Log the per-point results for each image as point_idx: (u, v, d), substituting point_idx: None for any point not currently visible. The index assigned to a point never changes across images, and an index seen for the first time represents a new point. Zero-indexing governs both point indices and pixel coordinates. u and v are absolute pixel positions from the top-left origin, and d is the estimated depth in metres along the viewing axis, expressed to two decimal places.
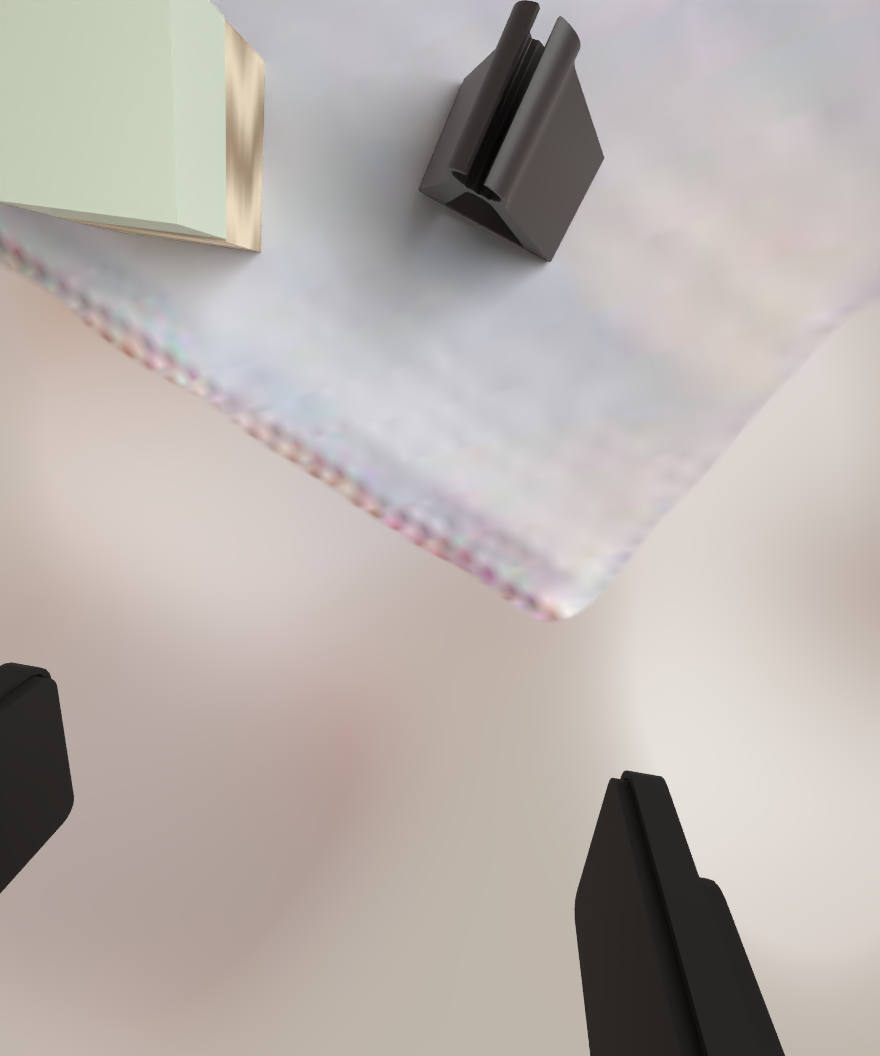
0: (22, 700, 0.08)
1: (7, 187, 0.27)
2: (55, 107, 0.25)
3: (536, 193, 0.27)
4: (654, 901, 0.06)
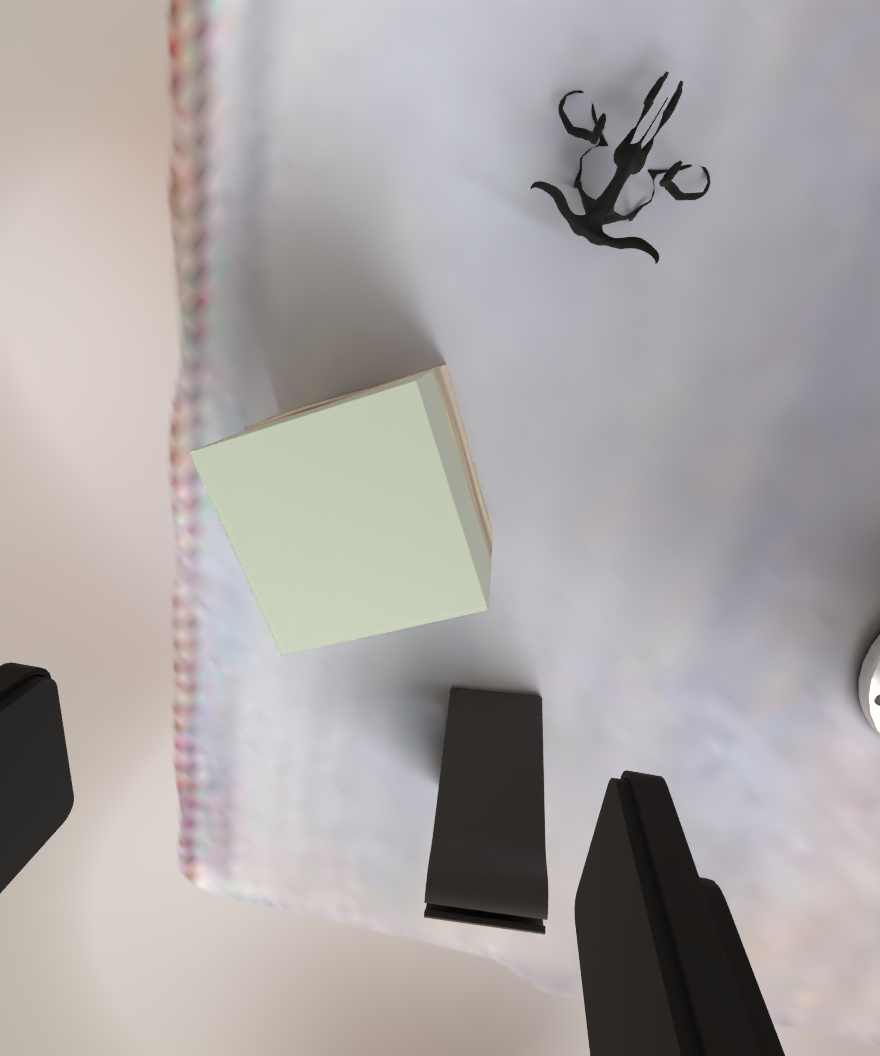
0: (22, 700, 0.08)
1: (215, 481, 0.23)
2: (317, 523, 0.23)
3: None
4: (654, 901, 0.06)
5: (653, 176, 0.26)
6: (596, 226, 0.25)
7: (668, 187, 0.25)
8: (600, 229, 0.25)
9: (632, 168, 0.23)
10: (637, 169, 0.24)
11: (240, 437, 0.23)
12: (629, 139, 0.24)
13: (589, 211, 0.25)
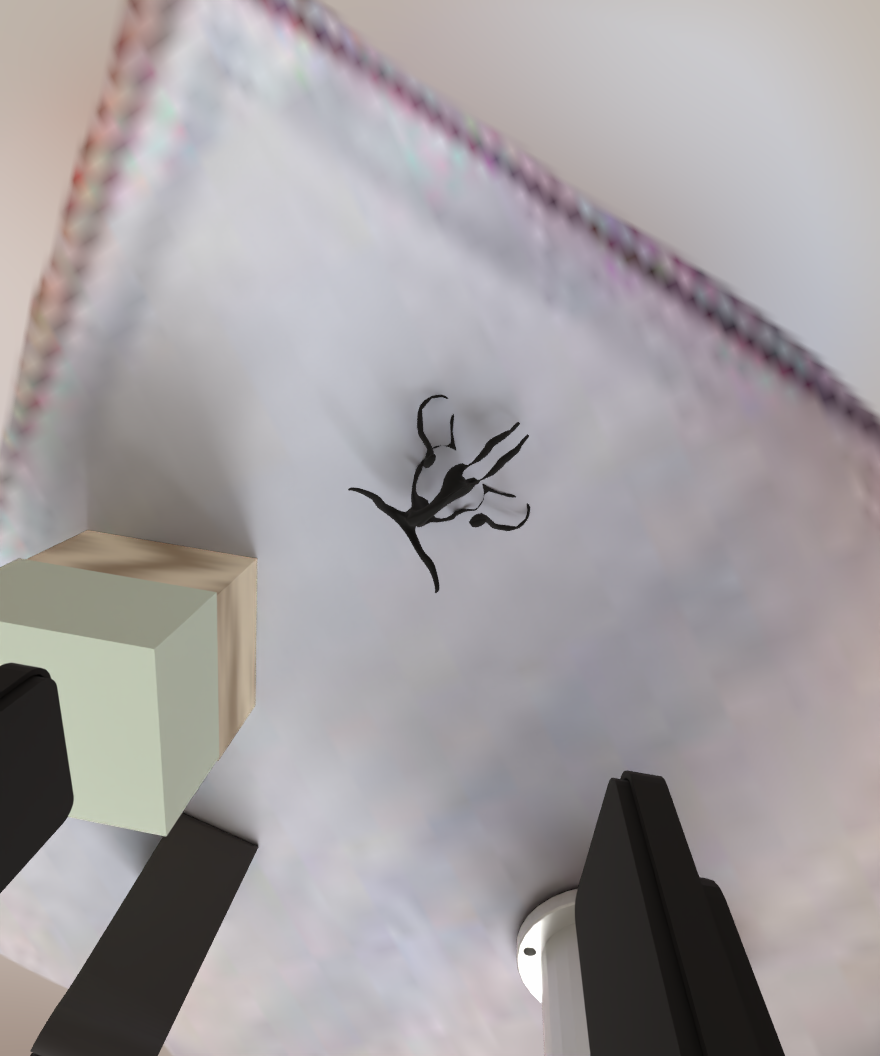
0: (22, 700, 0.08)
1: None
2: None
3: None
4: (654, 901, 0.06)
5: (485, 491, 0.28)
6: (409, 526, 0.26)
7: None
8: (412, 529, 0.27)
9: (449, 501, 0.25)
10: (459, 497, 0.26)
11: None
12: (462, 469, 0.26)
13: None
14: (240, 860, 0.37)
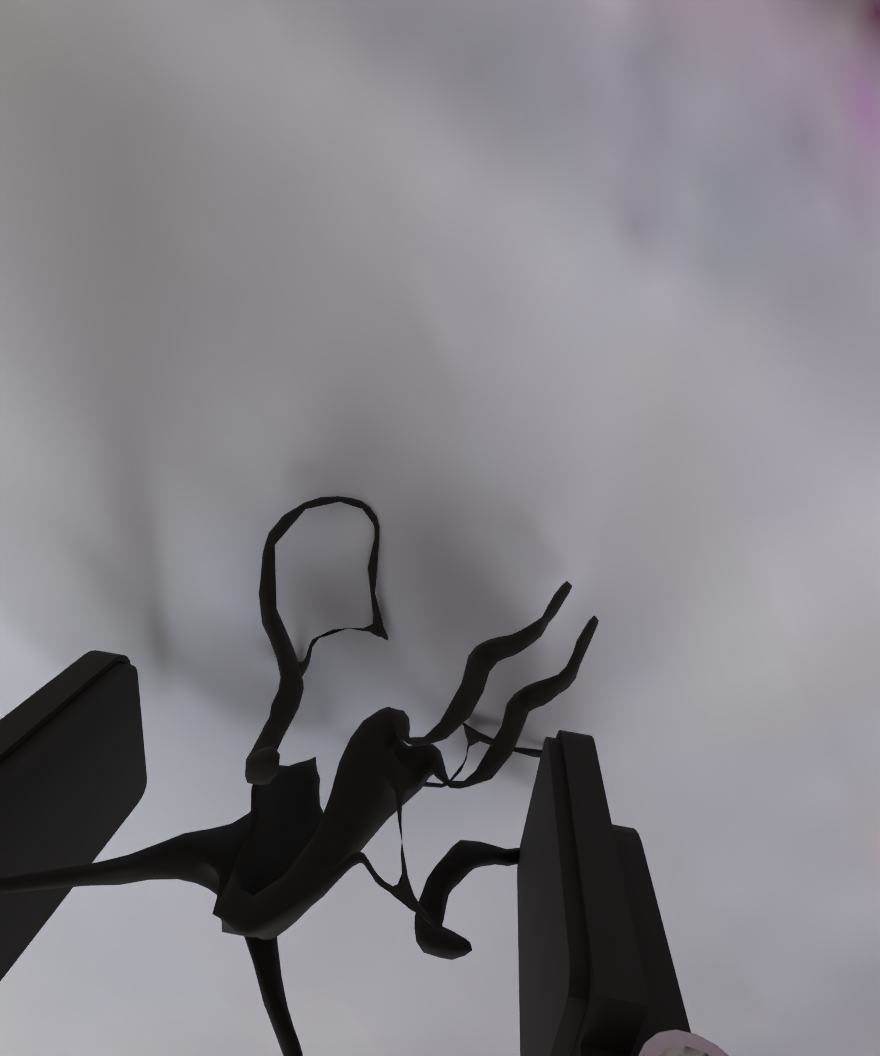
0: (110, 685, 0.09)
1: None
2: None
3: None
4: (567, 838, 0.07)
5: (470, 741, 0.10)
6: None
7: None
8: None
9: None
10: (386, 819, 0.08)
11: None
12: (397, 733, 0.08)
13: None
14: None
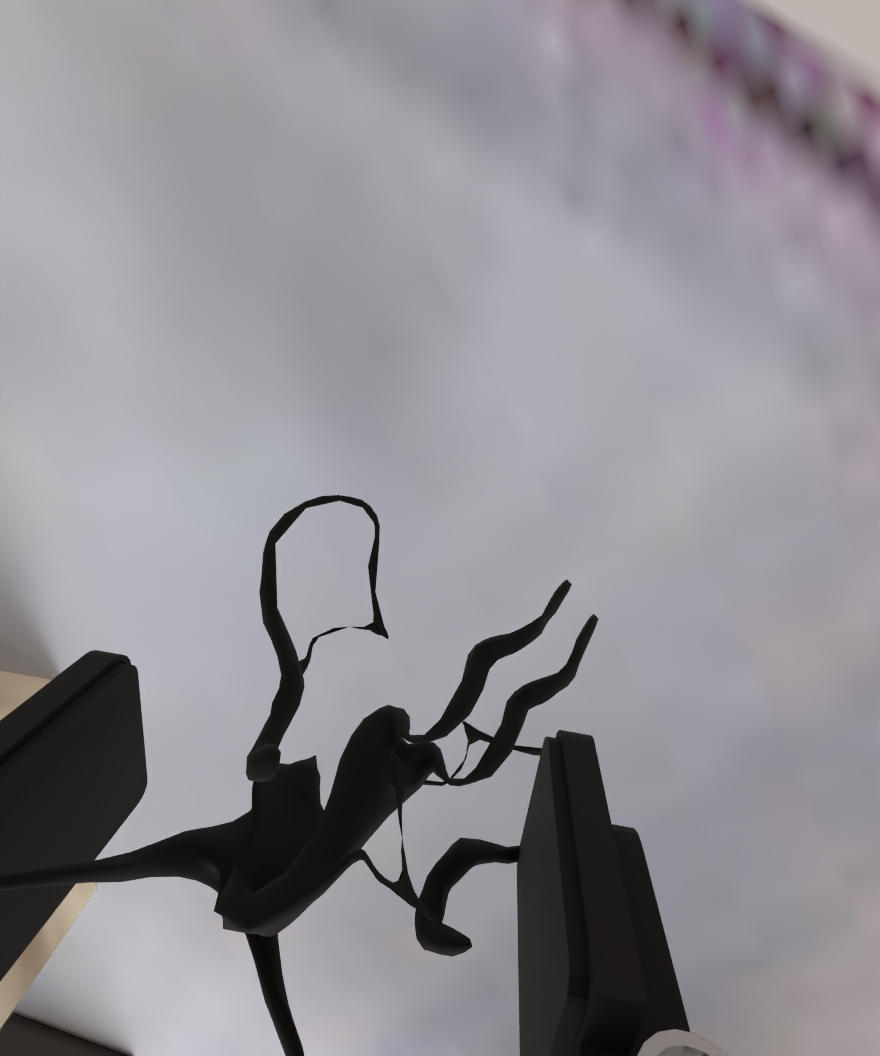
0: (111, 684, 0.09)
1: None
2: None
3: None
4: (566, 837, 0.07)
5: (470, 740, 0.10)
6: None
7: None
8: None
9: None
10: None
11: None
12: (397, 731, 0.08)
13: None
14: None
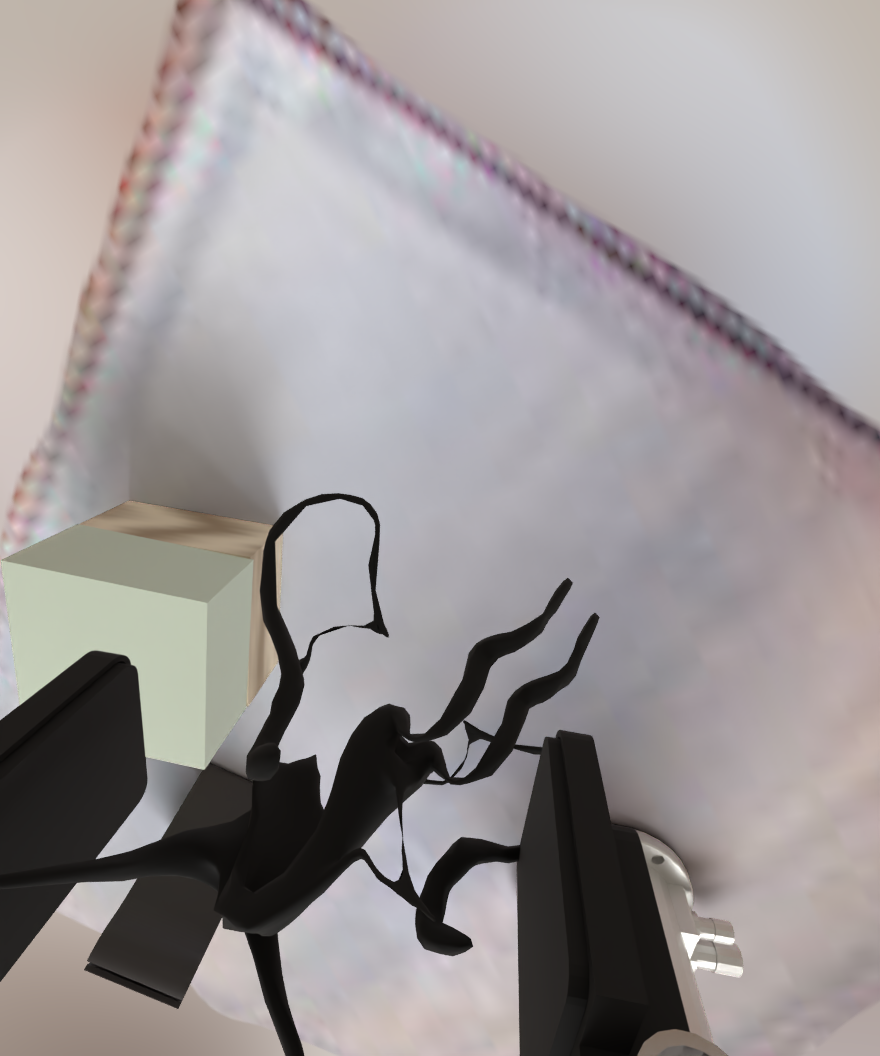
0: (111, 685, 0.09)
1: (16, 589, 0.26)
2: None
3: None
4: (566, 837, 0.07)
5: (470, 739, 0.10)
6: None
7: None
8: None
9: None
10: (387, 816, 0.08)
11: (49, 571, 0.26)
12: (398, 730, 0.08)
13: None
14: None
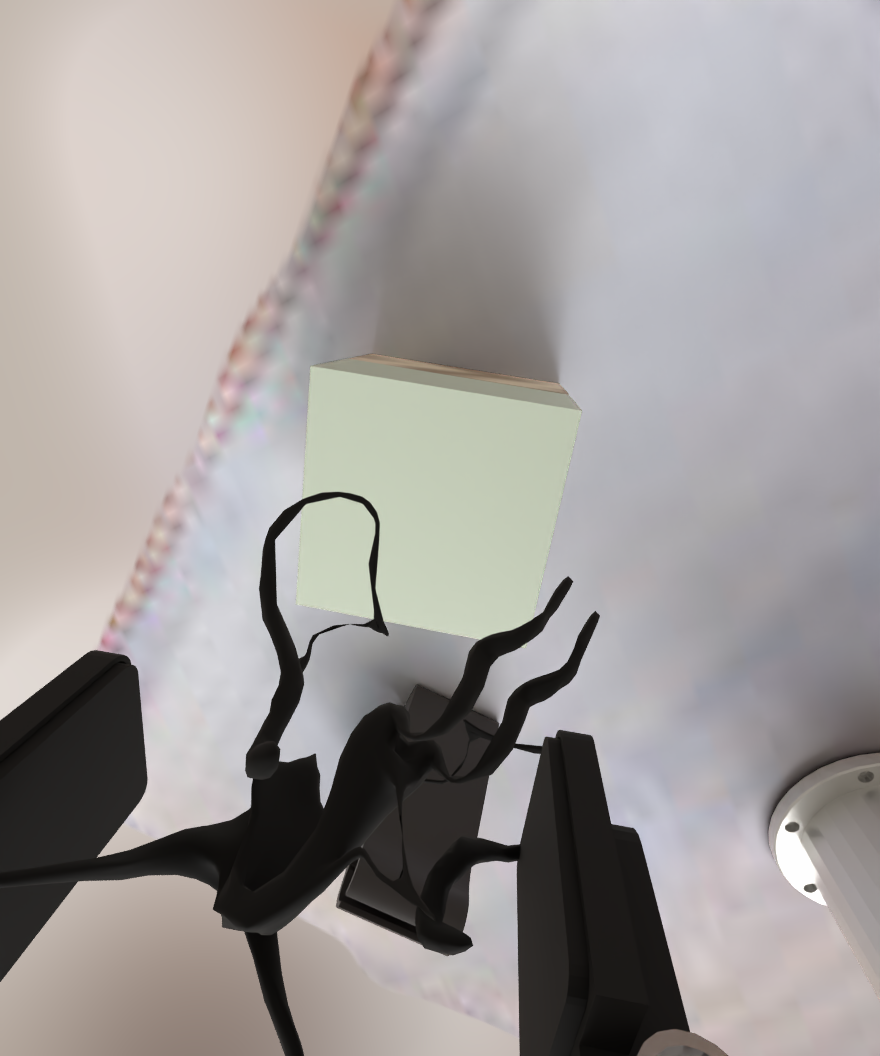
0: (111, 685, 0.09)
1: (323, 407, 0.21)
2: (406, 496, 0.22)
3: None
4: (566, 837, 0.07)
5: (471, 738, 0.10)
6: None
7: None
8: None
9: None
10: (387, 815, 0.08)
11: (374, 377, 0.20)
12: (398, 729, 0.08)
13: None
14: None
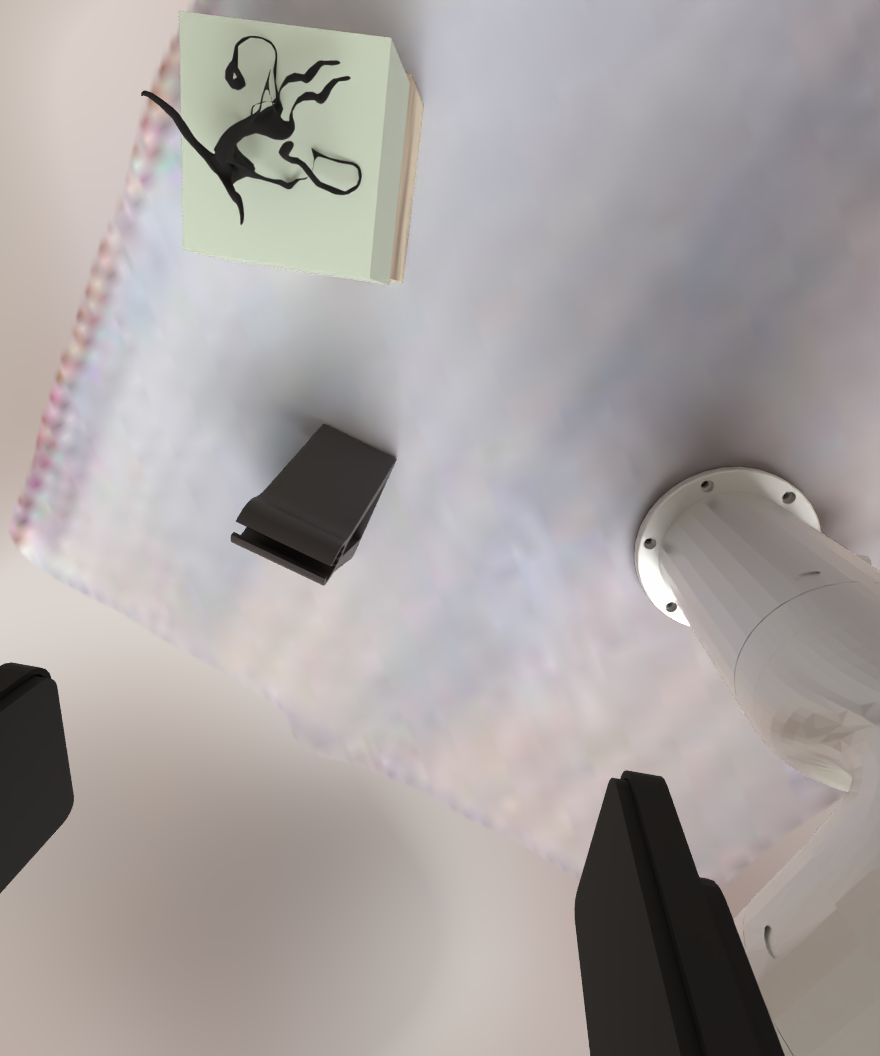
0: (22, 700, 0.08)
1: (191, 50, 0.26)
2: None
3: None
4: (654, 901, 0.06)
5: (314, 156, 0.27)
6: (223, 170, 0.25)
7: (302, 167, 0.25)
8: (227, 175, 0.25)
9: (256, 128, 0.24)
10: (273, 135, 0.25)
11: (229, 18, 0.25)
12: (277, 104, 0.25)
13: None
14: (383, 462, 0.41)
